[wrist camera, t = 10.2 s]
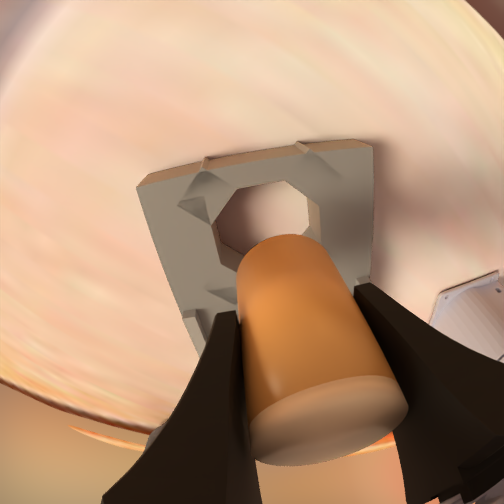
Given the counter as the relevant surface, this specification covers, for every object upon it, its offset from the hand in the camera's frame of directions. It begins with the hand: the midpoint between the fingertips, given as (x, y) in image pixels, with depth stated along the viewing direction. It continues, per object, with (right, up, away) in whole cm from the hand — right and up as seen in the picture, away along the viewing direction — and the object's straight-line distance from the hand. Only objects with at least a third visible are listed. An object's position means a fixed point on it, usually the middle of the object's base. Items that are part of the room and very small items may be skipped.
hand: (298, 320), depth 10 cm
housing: (0, -1, +11) cm, 11 cm away
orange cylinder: (0, +1, +2) cm, 2 cm away
